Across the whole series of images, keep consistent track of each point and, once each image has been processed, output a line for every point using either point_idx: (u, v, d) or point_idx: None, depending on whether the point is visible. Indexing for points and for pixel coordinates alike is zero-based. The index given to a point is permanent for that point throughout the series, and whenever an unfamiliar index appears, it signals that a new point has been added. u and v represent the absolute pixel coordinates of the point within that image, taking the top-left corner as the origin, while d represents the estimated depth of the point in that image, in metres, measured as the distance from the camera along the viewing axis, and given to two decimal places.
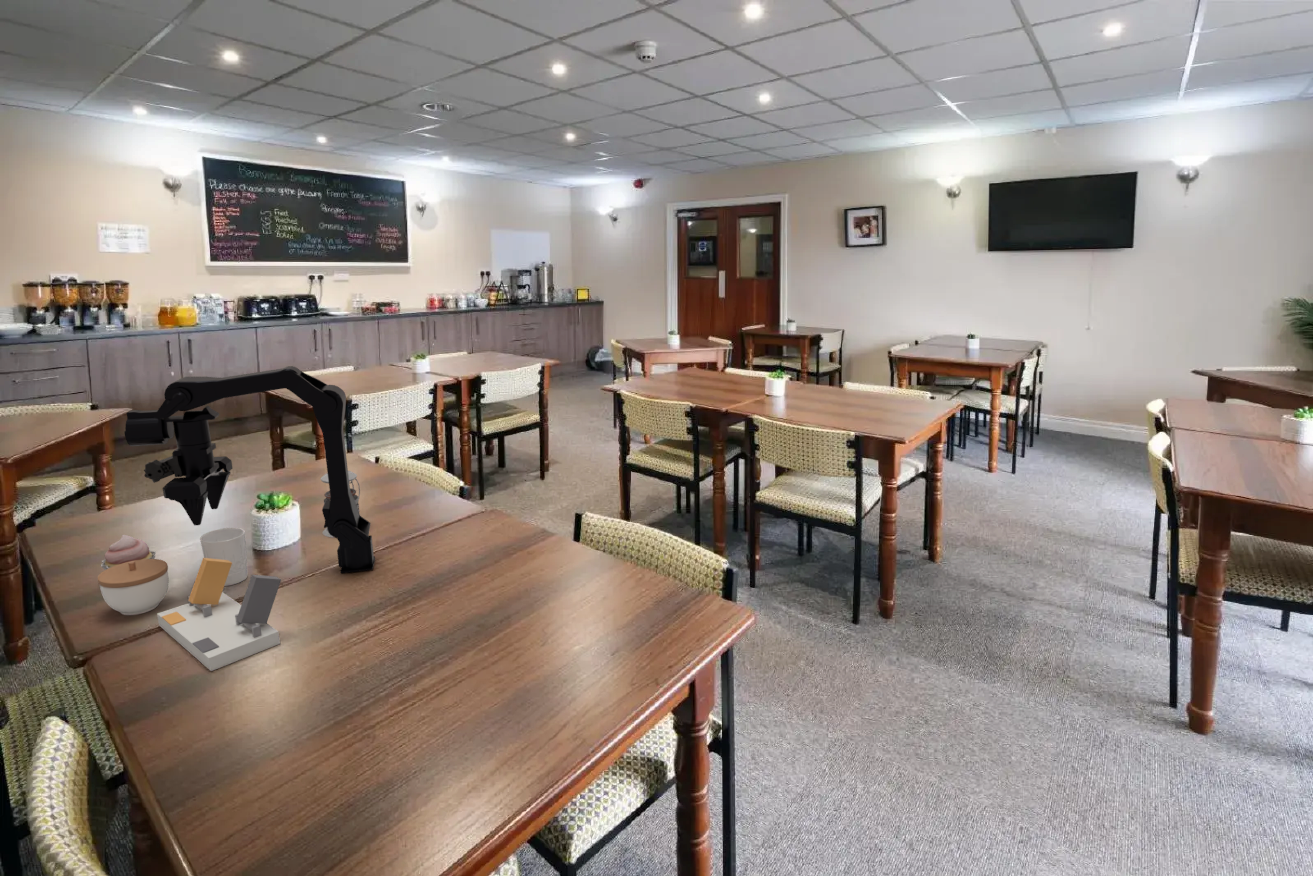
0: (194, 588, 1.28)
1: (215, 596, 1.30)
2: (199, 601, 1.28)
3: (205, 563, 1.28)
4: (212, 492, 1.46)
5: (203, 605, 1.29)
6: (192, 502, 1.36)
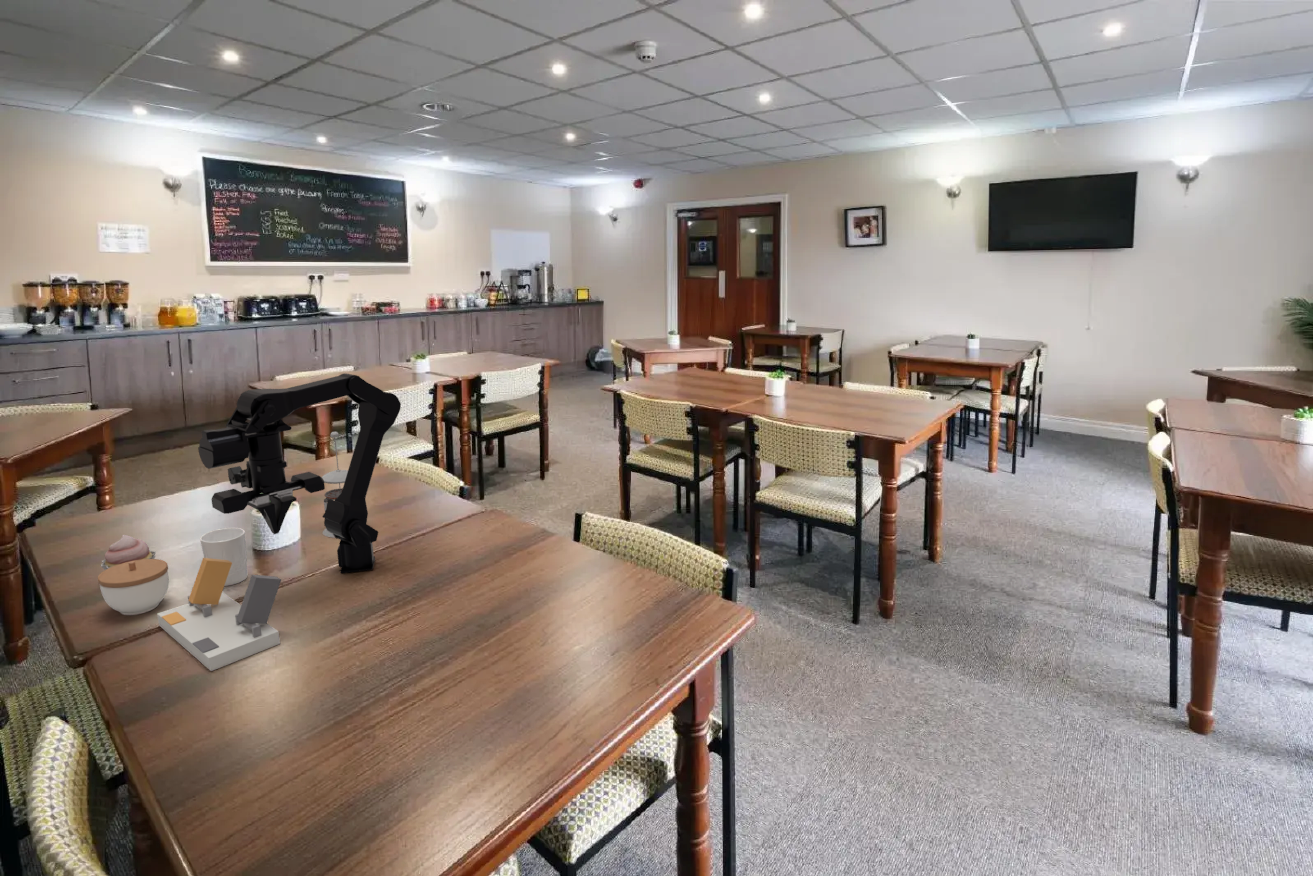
0: (194, 588, 1.28)
1: (215, 596, 1.30)
2: (199, 601, 1.28)
3: (205, 563, 1.28)
4: None
5: (203, 605, 1.29)
6: None
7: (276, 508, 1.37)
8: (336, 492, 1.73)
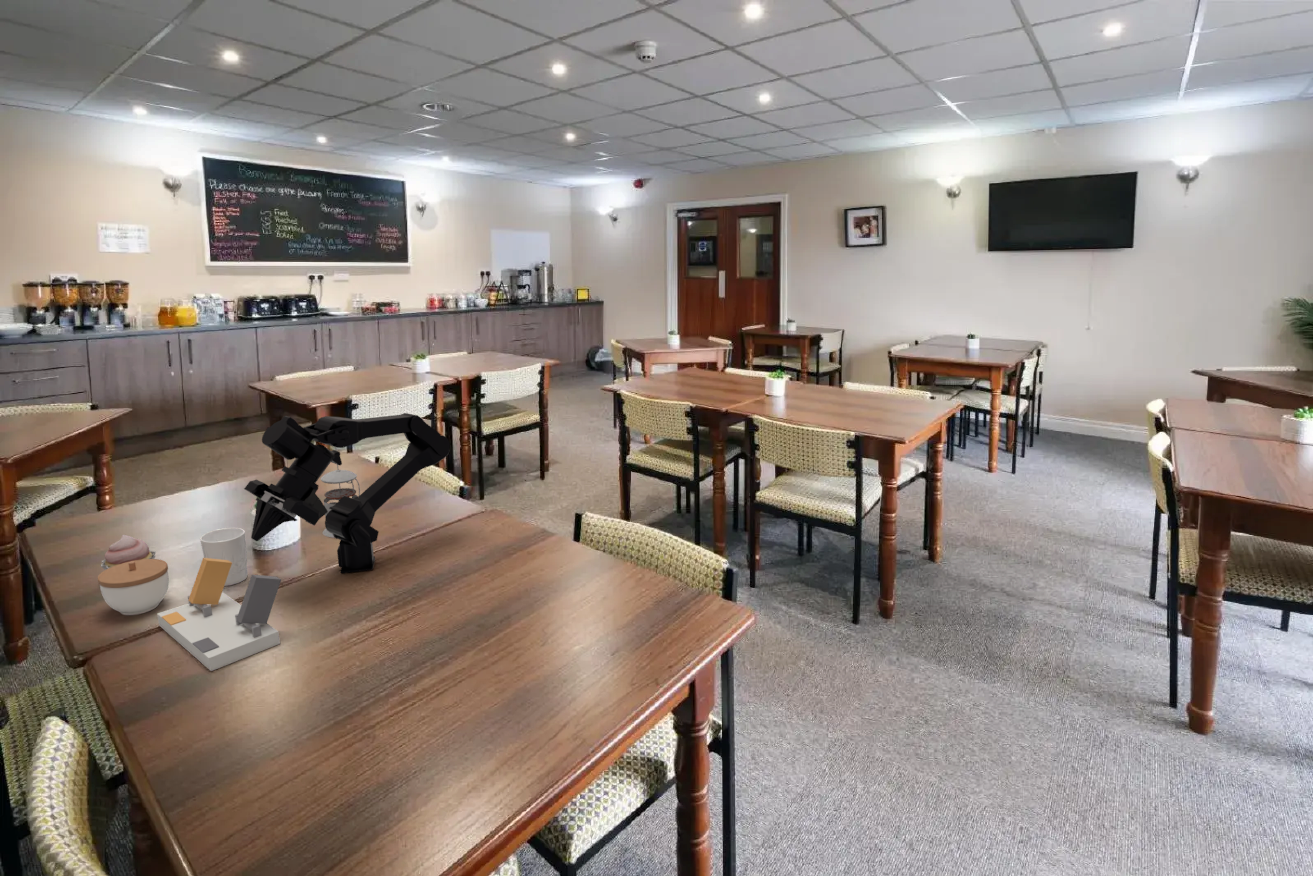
0: (194, 588, 1.28)
1: (215, 596, 1.30)
2: (199, 601, 1.28)
3: (205, 563, 1.28)
4: None
5: (203, 605, 1.29)
6: None
7: None
8: (336, 492, 1.73)
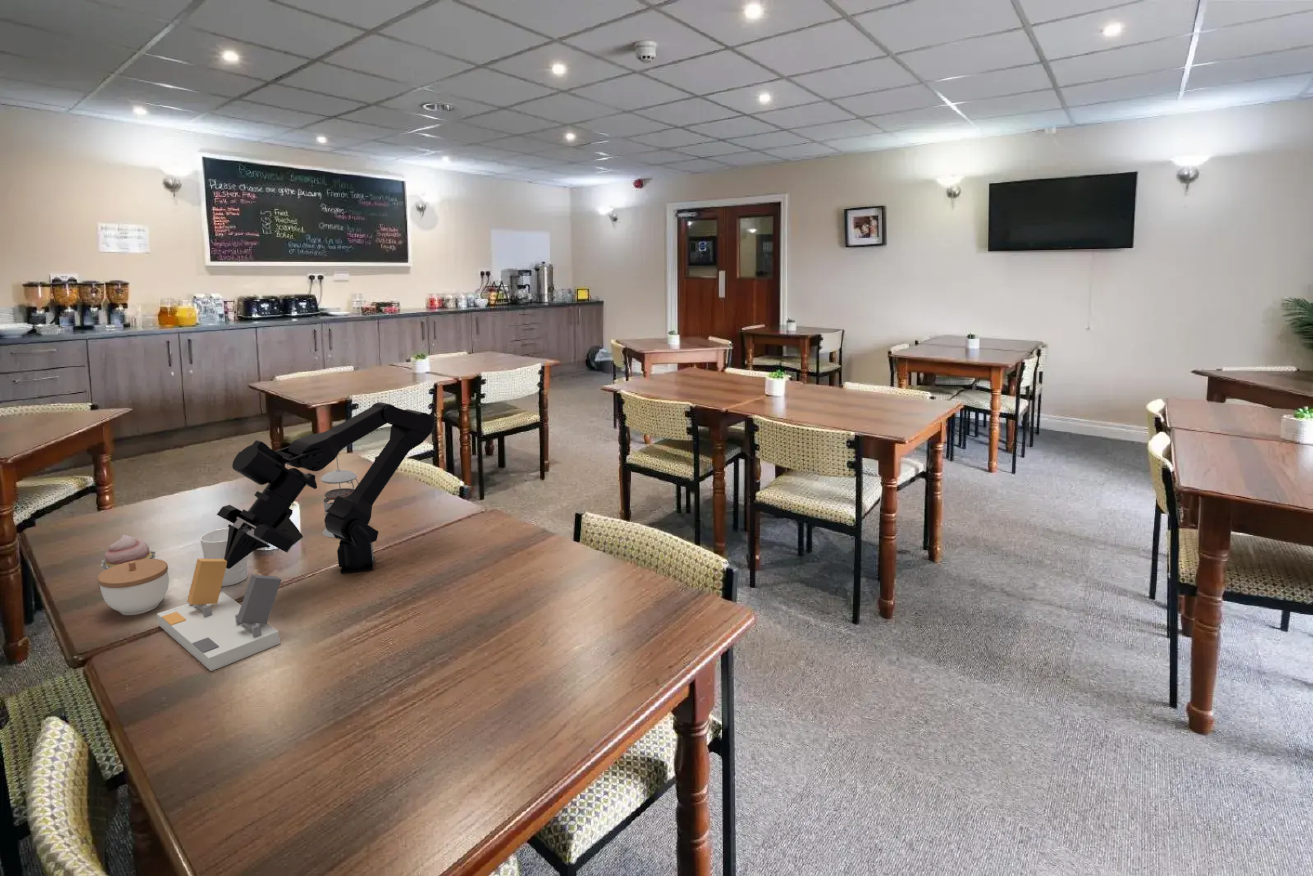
0: (191, 589, 1.28)
1: (214, 595, 1.30)
2: (198, 602, 1.28)
3: (200, 564, 1.28)
4: None
5: (202, 605, 1.29)
6: None
7: None
8: (336, 492, 1.73)
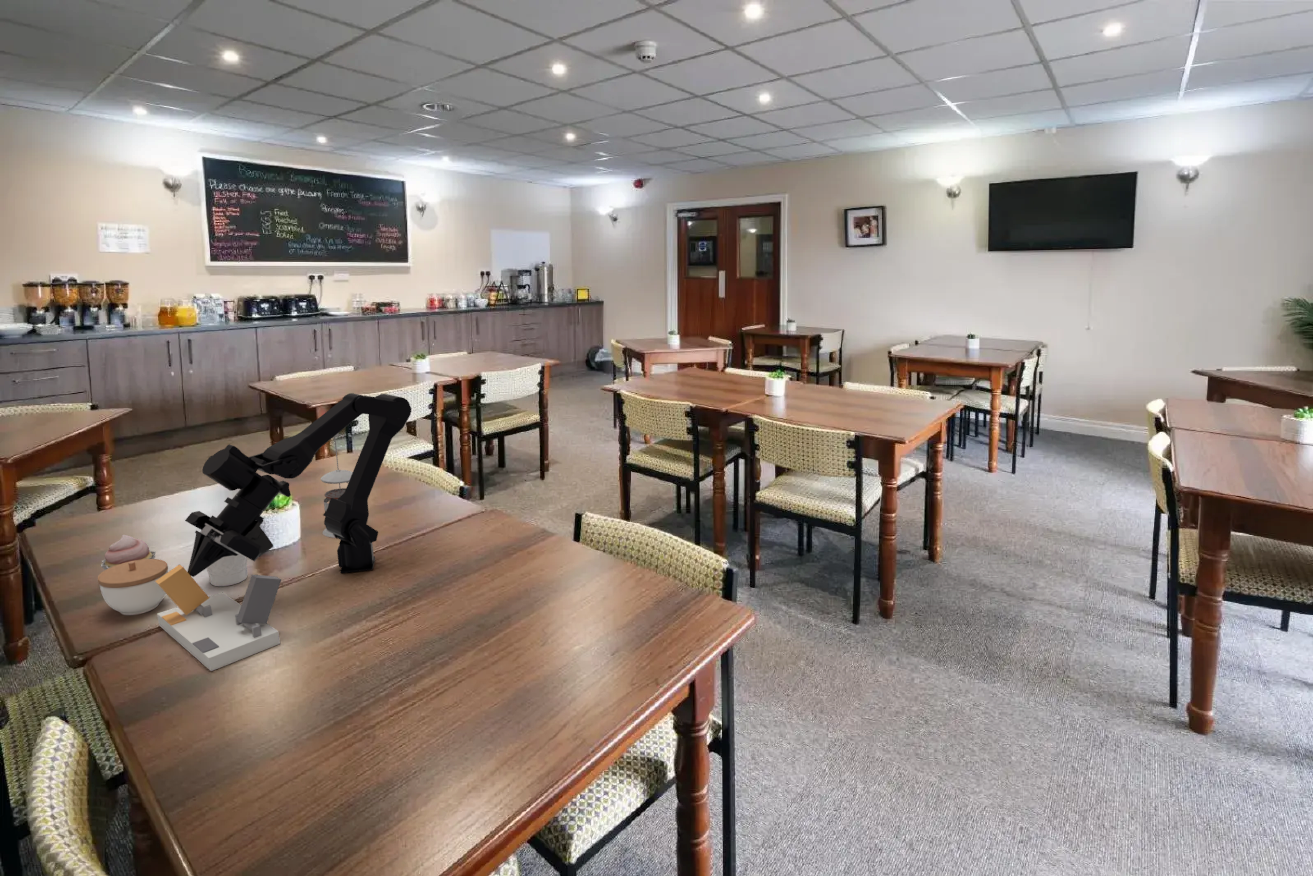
0: None
1: (200, 595, 1.28)
2: (190, 609, 1.27)
3: (160, 586, 1.23)
4: None
5: (197, 609, 1.28)
6: None
7: None
8: (336, 492, 1.73)
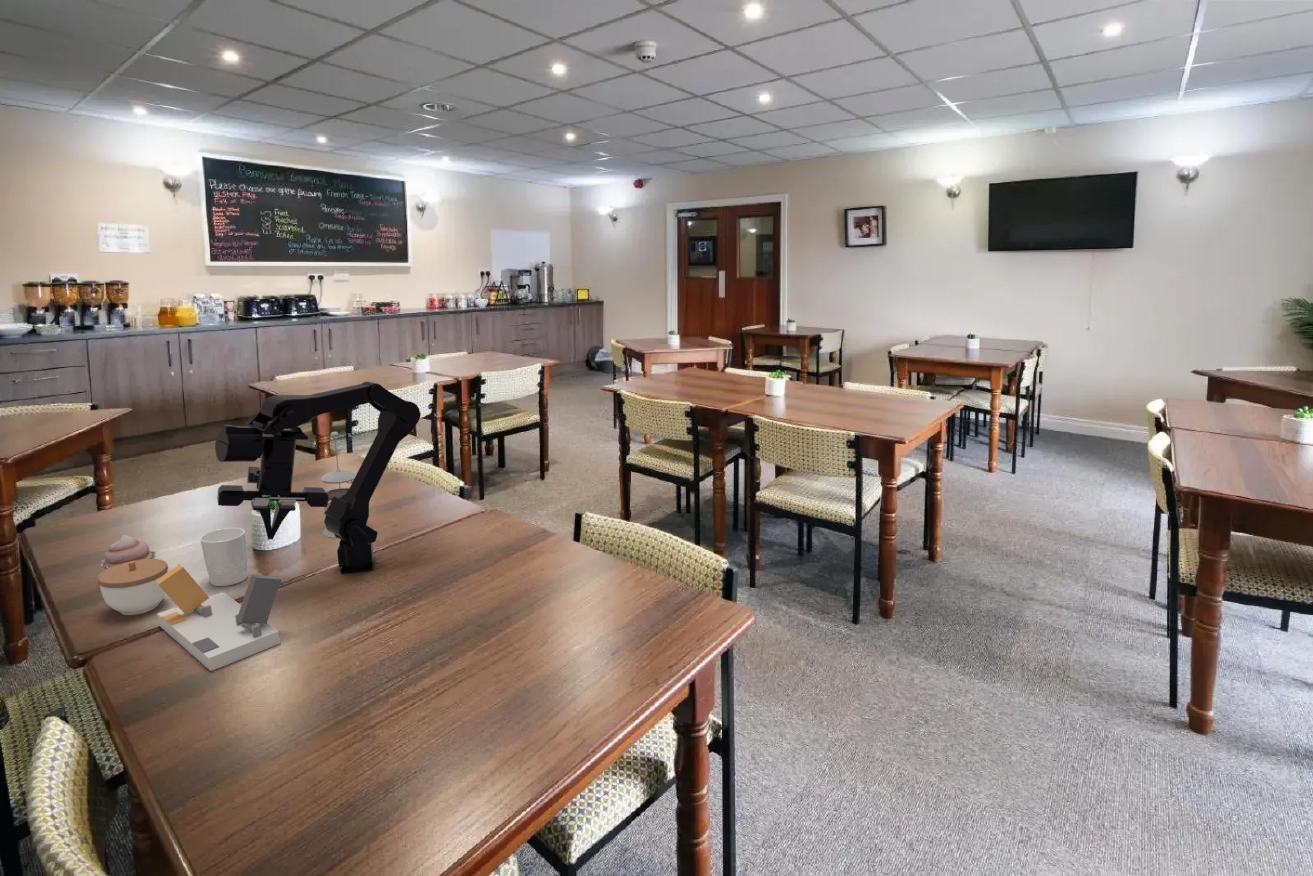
0: None
1: (200, 595, 1.28)
2: (190, 609, 1.27)
3: (160, 586, 1.23)
4: (273, 521, 1.39)
5: (197, 609, 1.28)
6: None
7: (275, 514, 1.38)
8: (336, 492, 1.73)
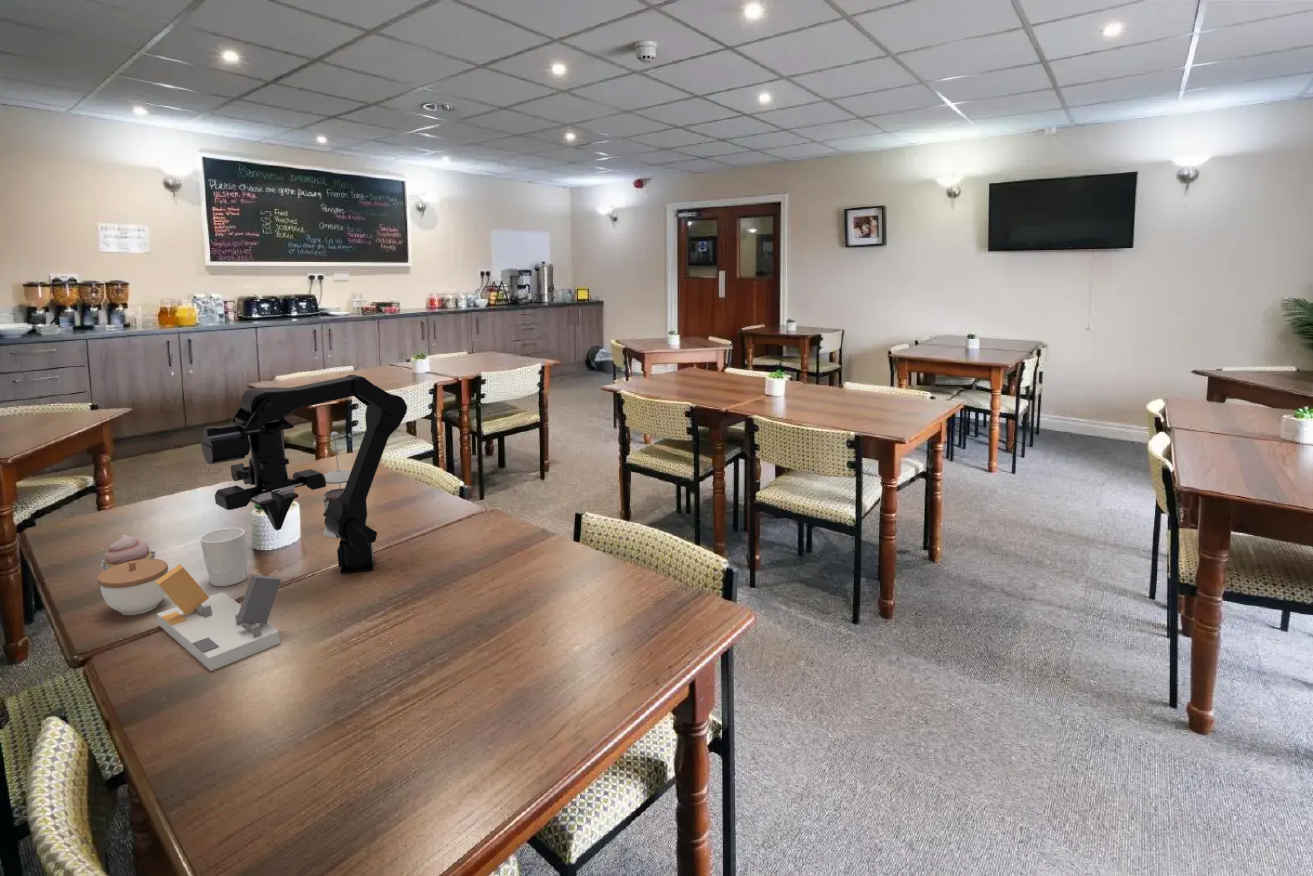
0: None
1: (200, 595, 1.28)
2: (190, 609, 1.27)
3: (160, 586, 1.23)
4: None
5: (197, 609, 1.28)
6: (268, 507, 1.38)
7: (278, 505, 1.39)
8: (336, 492, 1.73)
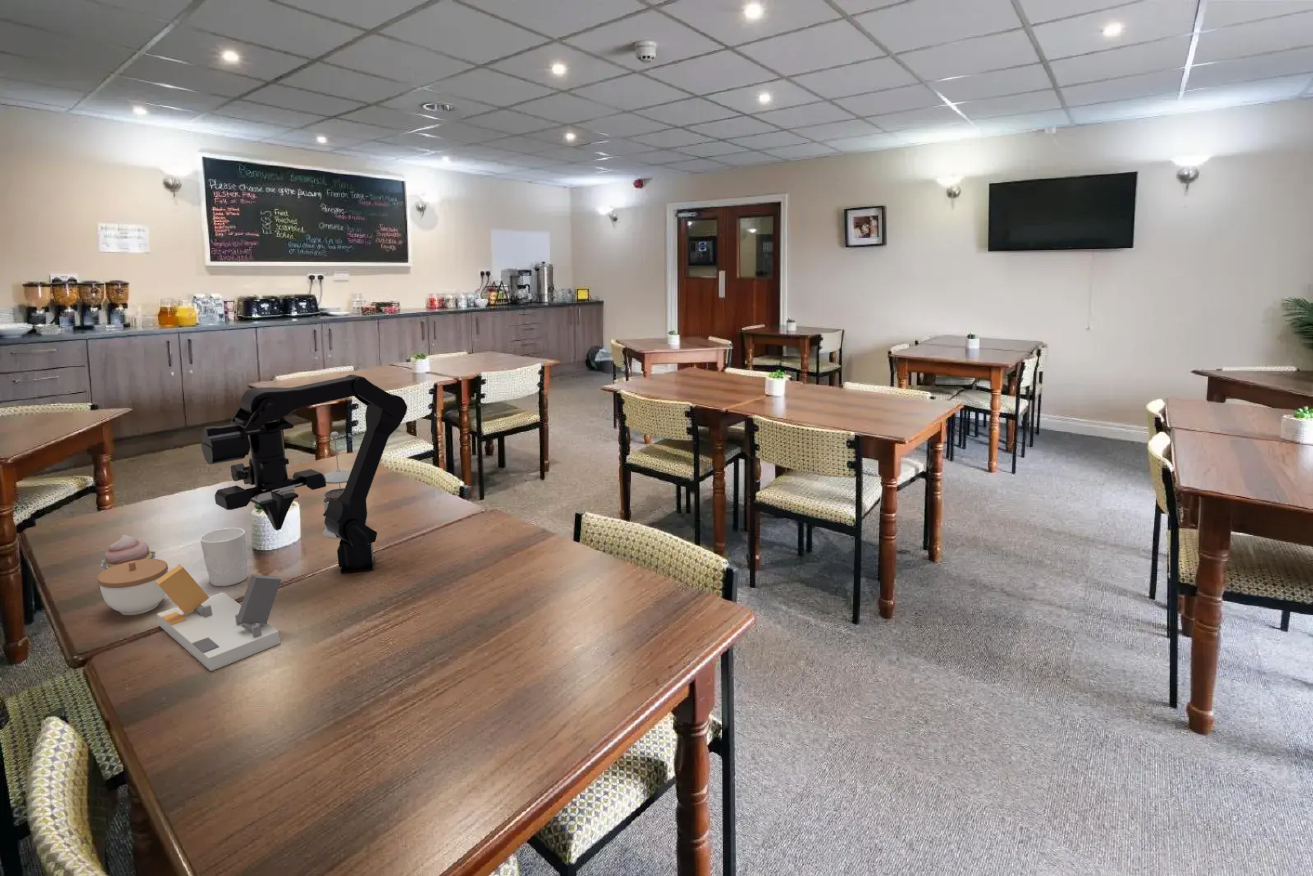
0: None
1: (200, 595, 1.28)
2: (190, 609, 1.27)
3: (160, 586, 1.23)
4: None
5: (197, 609, 1.28)
6: (268, 507, 1.38)
7: (278, 505, 1.39)
8: (336, 492, 1.73)
